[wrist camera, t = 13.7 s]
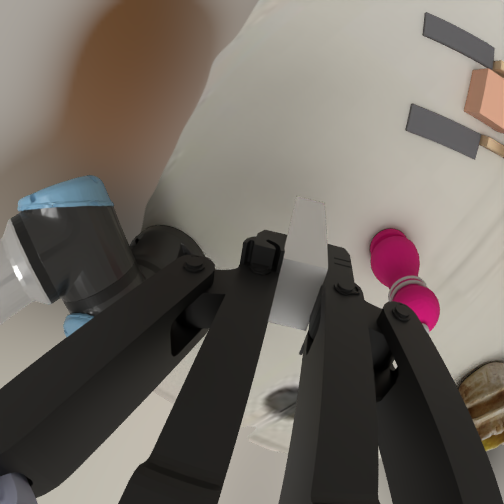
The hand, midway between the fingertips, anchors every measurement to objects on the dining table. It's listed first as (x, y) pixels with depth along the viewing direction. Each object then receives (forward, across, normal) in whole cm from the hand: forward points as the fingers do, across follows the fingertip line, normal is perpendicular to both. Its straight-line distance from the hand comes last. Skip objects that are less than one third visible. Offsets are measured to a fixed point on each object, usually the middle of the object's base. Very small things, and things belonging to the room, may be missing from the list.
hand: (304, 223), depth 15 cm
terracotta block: (+27, -24, -16) cm, 39 cm away
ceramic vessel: (+27, -55, +39) cm, 72 cm away
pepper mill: (+27, -15, +11) cm, 32 cm away
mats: (+26, -18, -16) cm, 36 cm away
